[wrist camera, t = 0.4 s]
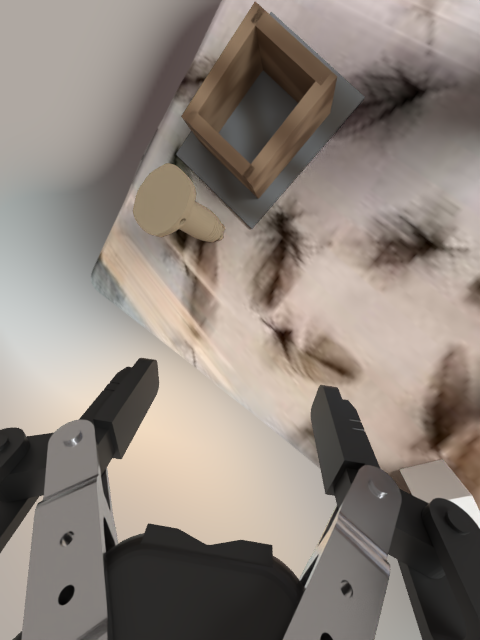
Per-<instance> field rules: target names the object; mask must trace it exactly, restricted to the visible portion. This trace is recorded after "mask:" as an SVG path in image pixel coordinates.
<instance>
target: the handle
mask: <svg viewBox="0 0 480 640" xmlns="http://www.w3.org/2000/svg"><path fill="white" fill-rule="evenodd" d="M195 198H196V190H195V187H194V185H193V183H192V181H191V180H190V178H189V177H188V176H187V175H186V174H185V173H184V172H183V171H182V170H181V169H180V168H179V167H177V166H175V165H173V164H169V163H166V164H164V165H163V166H161V167H159V168H157V169H155V170H154V171H152V172H151V173H150V174H149V175H148V176H147V178H146V179H145V180H144V182H143V183H142V185H141V186H140V188H139V190H138V192H137V195H136V198H135V203H134V208H133V214H134V217H135V220H136V221H137V223H138V225H139V226H140V227H141V228H142V229H143V230H144V231H145V232H147V233H148V234H151V235H154V236H158V237H164V236H166V235H169V234H171V233H173V232H175V231H176V230H178V229H180V230H182V231H184V232H185V233H187V234H189V235H191V236H192V237H194V238H197V239H199V240H202V241H209V242H214V241H216V240H222V239H223V232H224V230H225V227H224V225H223V224H222V223H221V221H220V220H219V218H218V217H217V216H216V215H215V214H214V213H213V212H212V211H211V210H209V209H208V208H206V207H204V206H202V205H201V204H199V203H197V202H195Z"/></svg>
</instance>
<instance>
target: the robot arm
mask: <svg viewBox="0 0 480 640" xmlns="http://www.w3.org/2000/svg"><path fill="white" fill-rule="evenodd" d="M158 388H159V377H158V365H157V361H156V360H152V359H146V358H139V359H138V361H137V362H136V363H135V364H134V366H133V367H126V368H124V369H123V370H121V371H120V372H118V373H117V374H116V375H115V377H114V378H113V379H112V380H111V381H110V384H108V385H107V386H106V388H105V389H104V391H102V392H101V394H100V395H99V396H98V397H97V398H96V400H95V401H94V402H93V403H92V405H91V406H90V407H89V408H88V409H87V411H86V412H85V413H84V414H83V415H82V417H81V418H80V419H79V420H75V421H72V422H69V423H67V424H65V425H63V426H61V427H60V428H59V429H57V431H55V432H54V433H49V434H42V435H34V436H27V437H26V435H25V433H24V432H23V430H21V429H19V428H6V429H2V430H0V553H1V551H2V550H3V548H4V547H5V545H6V544H7V542H8V541H9V540H10V538H11V537H12V535H13V534H14V532H15V531H16V529H17V528H18V527H19V525H20V524H21V522H22V521H23V519H24V518H25V516H26V515H27V513H28V512H29V510H30V509H31V507H32V506H33V505H34V503H35V502H36V500H37V499H38V497H39V496H42V495H44V497H43V501H41V502H39V503H38V504H37V507H36V509H35V515H34V524H33V534H32V543H31V553H30V562H29V572H28V581H27V591H26V601H25V610H24V620H23V629H22V631H21V632H20V633H19V634H18V635H17V636H16V637H15V638H14V639H13V640H374V639H375V634H376V630H377V626H378V622H379V618H380V614H381V609H382V605H383V601H384V597H385V593H386V589H387V585H388V580H389V576H390V564H389V563H388V562H387V556H388V554H389V555H391V556H393V557H394V558H396V559H397V560H398V563H399V566H400V569H401V573H402V576H403V579H404V582H405V585H406V589H407V592H408V595H409V598H410V601H411V605H412V607H413V611H414V614H415V617H416V620H417V623H418V627H419V630H420V633H421V636H422V640H480V528H479V527H478V525H477V524H476V522H475V521H474V520H473V519H472V518H471V517H470V515H469V514H468V513H466V512H465V511H464V510H463V509H462V508H461V507H459V506H458V505H456V504H455V503H453V502H451V501H449V500H447V499H443V498H435V499H433V500H432V501H431V502H430V503H427V502H425V501H423V500H421V499H419V498H417V497H415V496H413V495H411V494H408V493H406V492H404V491H403V490H401V489H399V488H398V486H397V484H396V483H395V481H394V480H393V479H392V478H391V477H390V476H389V475H388V474H387V473H386V472H384V471H383V470H381V469H380V466H379V464H378V462H377V459H376V457H375V454H374V452H373V450H372V447H371V445H370V442H369V440H368V437H367V435H366V433H365V432H364V428H363V425H362V423H361V422H360V421H361V420H360V418H359V415H358V413H357V411H356V409H355V408H354V407H353V406H352V404H351V403H350V402H349V401H348V400H343V399H342V397H341V395H340V392H339V389H338V388H337V387H332V386H325V385H320V386H319V388H318V391H317V394H316V396H315V399H314V402H313V405H312V408H311V422H312V427H313V432H314V437H315V442H316V448H317V453H318V458H319V463H320V468H321V473H322V478H323V484H324V489H325V494H328V495H334V496H335V498H336V502H337V505H336V507H335V509H334V511H333V513H332V515H331V517H330V519H329V521H328V523H327V525H326V528H325V530H324V532H323V534H322V536H321V538H320V540H319V542H318V544H317V546H316V548H315V551H314V552H313V554H312V556H311V558H310V559H309V561H308V563H307V565H306V567H305V569H304V571H303V573H302V575H301V577H300V579H298V578H297V577H296V575H295V574H294V573H293V572H292V571H291V570H290V569H289V568H288V567H287V566H286V565H285V564H284V563H283V562H282V561H280V560H279V559H278V558H276V557H274V556H273V554H272V545H268V544H262V543H257V542H251V541H245V540H237V541H231V542H226V543H220V544H214V545H206V544H204V543H202V542H200V541H199V540H197V539H195V538H193V537H192V536H190V535H188V534H186V533H185V532H183V531H181V530H179V529H177V528H171V527H165V526H159V525H154V524H148V525H147V528H146V531H145V533H143V534H139V535H136V536H133V537H130V538H128V539H126V540H124V541H122V542H120V543H119V544H118V540H117V533H116V528H115V523H114V518H113V512H112V504H111V496H110V487H109V479H108V471H107V466H108V464H109V462H110V461H111V459H112V458H116V459H122V457H123V455H124V454H125V452H126V450H127V448H128V446H129V444H130V443H131V441H132V439H133V437H134V435H135V433H136V431H137V430H138V428H139V426H140V424H141V422H142V420H143V419H144V417H145V415H146V413H147V411H148V409H149V408H150V406H151V404H152V402H153V400H154V398H155V397H156V395H157V392H158Z"/></svg>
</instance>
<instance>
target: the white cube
mask: <svg viewBox="0 0 480 640" xmlns="http://www.w3.org/2000/svg"><path fill="white" fill-rule="evenodd" d="M399 470H400V472H401V474H402V476H403V478H404V480H405V482H406V484H407V486H408V488H409V490H410V492H411V494H412V495H413V496H415V497H417V498H419V499H421V500H423V501H425V502H427V503H430V502H431V501H432V500H433V499H435V498H443V499H447V500H449V501H451V502H453V503H455V504H456V505H458V506H459V507H461V508H462V509H463V510H464V511H465V512H466V513H468V514H469V515H470V517H471V518H472V519H473V520H474V521H475V522H476V524H477V525H478V527H479V528H480V511H479V509H478V507H477V505H476V503H475V501H474V499H473V497H472V495H471V494H470V492H469V491H468V490H467V489H466V487H465V486H464V485H463V484H462V482H461V481H460V480H459V479H458V477H457V476H456V475H455V474H454V472H453V471H452V470H451V469H450V468H449V466H448V465H447V464H446V463H445V461H444V460H443V459H442V460H437V461H433V462H429V463H425V464H420V465H416V466H412V467H407V468H403V469H399Z"/></svg>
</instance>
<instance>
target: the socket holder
mask: <svg viewBox="0 0 480 640" xmlns="http://www.w3.org/2000/svg"><path fill="white" fill-rule="evenodd" d="M364 98H365V97H364V96H363V95H362V94H361V93H360V92H359V91H357V90H356V89H355V88H354V87H353V86H352V85H351V84H350V83H349V82H348V81H346V80H345V79H344V78H343V77H342V76H341V75H340V74H339V73H338V72H337V71H336V70H334V69H333V68H332V67H331V66H330V65H329V64H328V63H327V62H326V61H325V60H323V59H322V58H321V57H320V56H319V55H318V54H317V53H316V52H315V51H314V50H312V49H311V48H310V47H309V46H308V45H307V44H306V43H305V42H304V41H303V40H302V39H300V38H299V37H298V36H297V35H296V34H295V33H294V32H293V31H292V30H291V29H289V28H288V27H287V26H286V25H285V24H284V23H283V22H282V21H281V20H280V19H279V18H277V17H276V16H275V15H274V14H273V13H272V12H271V13H270V14H268V13H267V12H266V11H265V10H264V9H263V8H262V7H261V6H260V5H259V4H257V3H256V2H254V4H253V5H252V7H251V9H250V10H249V12H248V13H247V15H246V16H245V18H244V20H243V21H242V23H241V24H240V26H239V27H238V29H237V30H236V32H235V34H234V35H233V37H232V38H231V40H230V41H229V43H228V44H227V46H226V48H225V49H224V51H223V52H222V54H221V55H220V57H219V59H218V60H217V62H216V63H215V65H214V66H213V68H212V69H211V71H210V73H209V74H208V76H207V77H206V79H205V80H204V82H203V83H202V85H201V87H200V88H199V90H198V91H197V93H196V94H195V96H194V98H193V99H192V101H191V102H190V104H189V105H188V107H187V108H186V110H185V112H184V113H183V115H182V116H181V117H182V118H183V119H184V121H185V122H186V124H187V125H188V126H189V128H190V129H191V132H190V134H189V135H188V137H187V138H186V140H185V141H184V143H183V144H182V146H181V147H180V149H179V150H178V152H177V153H176V155H177V156H178V157H179V158H180V159H181V160H182V161H183V162H184V163H185V164H186V165H187V166H188V167H189V168H190V169H191V170H192V171H193V172H194V173H196V174H197V175H198V176H199V177H200V178H201V179H202V180H203V181H204V182H205V183H206V184H207V185H208V186H209V187H210V188H211V189H212V190H213V191H214V192H215V193H216V194H217V195H218V196H219V197H220V198H221V199H222V200H223V201H224V202H225V203H226V204H227V205H228V206H229V207H230V208H231V209H232V210H233V211H234V212H235V213H236V214H237V215H238V216H239V217H240V218H241V219H242V220H243V221H244V222H245V223H246V224H248V225H249V226H250V227H251V228H252V229H253V227H254V226H255V225H256V224H257V223H258V222H259V220H260V219H261V218H262V217H263V216H264V215H265V213H266V212H267V211H268V210H269V209H270V208H271V207H272V205H273V204H274V203H275V202H276V201H277V200H278V198H279V197H280V196H281V195H282V194H283V193H284V191H285V190H286V189H287V188H288V187H289V186H290V184H291V183H292V182H293V181H294V180H295V179H296V178H297V176H298V175H299V174H300V173H301V172H302V171H303V169H304V168H305V167H306V166H307V165H308V164H309V162H310V161H311V160H312V159H313V158H314V157H315V155H316V154H317V153H318V152H319V151H320V150H321V149H322V147H323V146H324V145H325V144H326V143H327V142H328V140H329V139H330V138H331V137H332V136H333V135H334V133H335V132H336V131H337V130H338V129H339V128H340V127H341V125H342V124H343V123H344V122H345V121H346V120H347V118H348V117H349V116H350V115H351V114H352V113H353V111H354V110H355V109H356V108H357V107H358V106H359V104H360V103H361V102H362V101H363V100H364Z"/></svg>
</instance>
